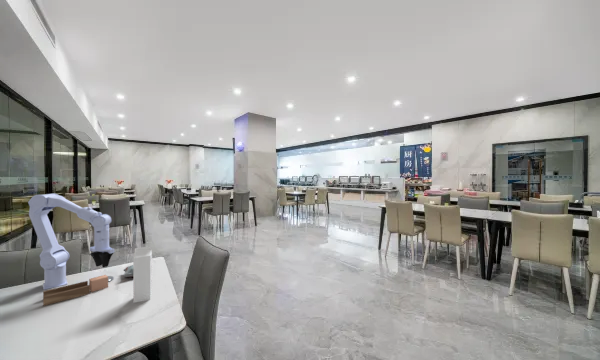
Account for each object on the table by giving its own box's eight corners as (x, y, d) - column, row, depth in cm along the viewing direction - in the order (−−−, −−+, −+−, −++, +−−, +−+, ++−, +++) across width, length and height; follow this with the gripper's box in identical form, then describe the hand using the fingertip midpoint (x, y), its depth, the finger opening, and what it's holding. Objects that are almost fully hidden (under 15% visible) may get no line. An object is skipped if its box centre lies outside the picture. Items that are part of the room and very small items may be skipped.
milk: (135, 297, 103) (135, 246, 103) (152, 294, 106) (151, 244, 106) (133, 303, 98) (132, 250, 98) (150, 300, 100) (150, 248, 100)
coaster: (88, 281, 119) (88, 279, 119) (111, 275, 125) (111, 274, 125) (91, 286, 113) (91, 285, 113) (115, 280, 119) (115, 279, 119)
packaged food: (122, 280, 118) (122, 270, 118) (123, 273, 128) (123, 264, 128) (143, 276, 123) (143, 267, 123) (143, 270, 133) (143, 261, 133)
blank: (89, 289, 110) (89, 278, 110) (105, 285, 115) (105, 274, 115) (91, 292, 108) (91, 281, 108) (108, 287, 112) (108, 276, 112)
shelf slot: (43, 299, 101) (43, 291, 101) (87, 288, 111) (87, 280, 111) (43, 306, 96) (43, 297, 96) (89, 293, 106) (89, 285, 106)
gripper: (82, 240, 117) (82, 267, 117) (103, 242, 113) (103, 271, 113) (98, 236, 124) (98, 262, 124) (118, 238, 120) (118, 265, 120)
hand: (102, 266), depth 119 cm, fingers open, 4 cm apart
